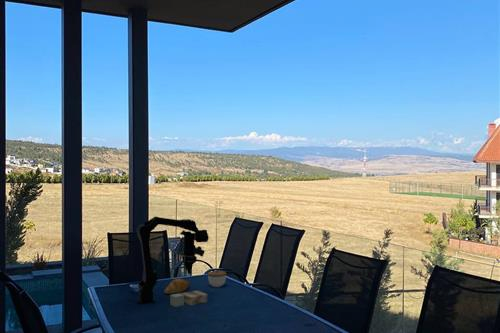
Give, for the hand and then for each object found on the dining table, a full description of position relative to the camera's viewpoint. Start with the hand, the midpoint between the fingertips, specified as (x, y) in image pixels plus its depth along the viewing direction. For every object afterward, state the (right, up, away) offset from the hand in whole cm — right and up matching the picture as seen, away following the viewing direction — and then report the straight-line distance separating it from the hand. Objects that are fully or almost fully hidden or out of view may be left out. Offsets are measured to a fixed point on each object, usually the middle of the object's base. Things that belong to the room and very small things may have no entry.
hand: (188, 271), depth 251 cm
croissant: (-8, -14, +12) cm, 20 cm away
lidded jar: (+14, -14, +23) cm, 30 cm away
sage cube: (-3, -13, -17) cm, 21 cm away
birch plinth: (+4, -13, -10) cm, 17 cm away
